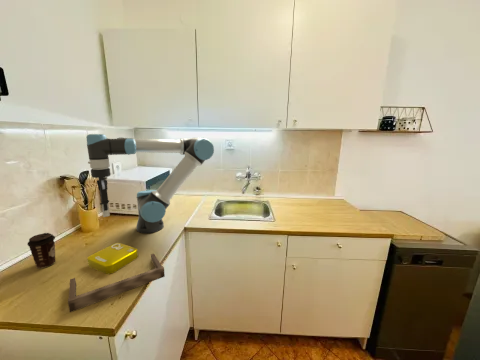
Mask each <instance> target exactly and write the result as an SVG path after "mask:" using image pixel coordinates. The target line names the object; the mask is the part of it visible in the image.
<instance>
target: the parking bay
mask: <svg viewBox="0 0 480 360" xmlns="http://www.w3.org/2000/svg"><path fill="white" fill-rule="evenodd" d="M150 260H151V262H152V264H153V266H154V268H153V269H150V270H147V271H144V272H142V273H139V274H136V275H133V276H130V277H127V278H124V279H121V280H119V281H115V282H113V283H109V284H107V285H104V286H102V287H98V288H95V289H93V290H90V291H87V292H83V293H81V294H78V295H77V282H76V277H73V278H70V279H69V288H68V290H69V291H68V298H67V304H68V310H69V313H73V312H74V311H77V310H80V309H83V308H85V307H88V306H91V305H93V304H96V303H99V302H101V301H104V300H107V299H109V298H112V297H115V296H117V295H119V294H123V293H125V292H128V291H130V290H133V289H135V288H138V287H141V286H143V285H146V284H149V283H152V282H154V281H157V280H159V279H161V278H165V266H164V265H162V264H161V263H160V260H159V259H158V257H157V256H156V254H155V253H151V254H150Z"/></svg>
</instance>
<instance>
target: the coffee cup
mask: <svg viewBox="0 0 480 360" xmlns="http://www.w3.org/2000/svg"><path fill="white" fill-rule="evenodd" d="M54 240H56V235H53V233H50V232H44V233H39V234H36V235H33V236H31V237H30V238H29V239H28V242H27V246H28V247H29V250H30V253H31V256H32V258H33V259H32V260H33V262H34V263H35V265H36V266H35V268H36V269H45V268H48V267H51V266H52V265H54V264H55V263H56V245H55V244H56V243H55V241H54Z"/></svg>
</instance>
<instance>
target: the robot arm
mask: <svg viewBox="0 0 480 360" xmlns="http://www.w3.org/2000/svg"><path fill="white" fill-rule="evenodd" d="M85 139H86V147H87V153H88V154H87V155H88V159H89V161H88V162H87V164H90V165H89V167H90V174H91V177H92V178H93V179H97V178H98V179H97V180H96V184H97V187H98V188H97V189H98V190H99V195H100V202H99V205H101V210H102V217H103V218H105V217H106V218H107V217H110V215H111V213H110V206H109V202H110V200H109V196H108V180H107V179H106V178H108V177H110V176H111V168H110V159H109V156H112V155H113V156H117V155H121V156H122V155H125V156H126V155H135V154H136V153H151V154H152V153H154V154H155V153H156V154H157V153H161V154H162V153H163V154H164V153H165V154H169V153H170V154H173V153H174V154H180V155H183V158H182V159H181V160H180V161H179V162H178V163H177V165H176V166H175V167H174V169H173V170H172V171H171V173H170V174H169V175H168V176H167V177H166V179H165V180H164V181H163V182H162V183H161V185H160V186H159V187H158V188H157V189H151V190H150V189H148V190H146V189H145V190H141V191H138V192H137V193H136V200H137V201H136V202H137V210H138V211H137V212H138V218H137V222H136V226H135V228H136V231H137V232H138V233H142V234H151V233H156V232H159V231H160V230H162V229H163V228H164V225H165V224H164V221H163V218H164V217H165V215H166V212H167V211H166V210H167V209H168V207H169V206H170V204H171V199H172V198H173V196H174V195H175V194H176V193H177V192H178V191H179V189H180V188H181V187H182V186H183V184H184V183H185V182H186V180H187V179H188V178H189V177H190V176H191V175H192V173H193V172H194V171H195V169H196V168H197V167H199V166H202V165H203V164H204V163H205V161H208V160H209V159H211V158H212V156H213V155H214V152H215V148H214V147H215V146H214V144H213V142H212V141H210V140H209V139H208V138H205V137H189V138H180V139H162V138H161V139H159V138H134V137H133V138H132V137H131V138H130V137H129V138H128V137H116V138H107V135H106V134H104V133H103V134H101V133H100V134H99V133H94V134H93V133H91V134H89V133H88V134H86V138H85Z"/></svg>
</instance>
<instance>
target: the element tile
mask: <svg viewBox="0 0 480 360" xmlns="http://www.w3.org/2000/svg"><path fill="white" fill-rule="evenodd" d="M138 258H139V251H138V248H137V247H134V246H131V245H127V244H124V243H121V242H115V243H113V244H110V245H109V246H106V247H104V248H103V249H101V250H99V251H96V252H95V253H93V254H90V255H89V256H88V257H86V259H87V265H88V268H91V269H93V270H95V271H97V272H100V273H102V274H105V275H112V274H114V273H116V272H117V271H119V270H121V269H122V268H124V267H125V266H127V265H129V264H130V263H131V262H133V261H136V260H137V259H138Z"/></svg>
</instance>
